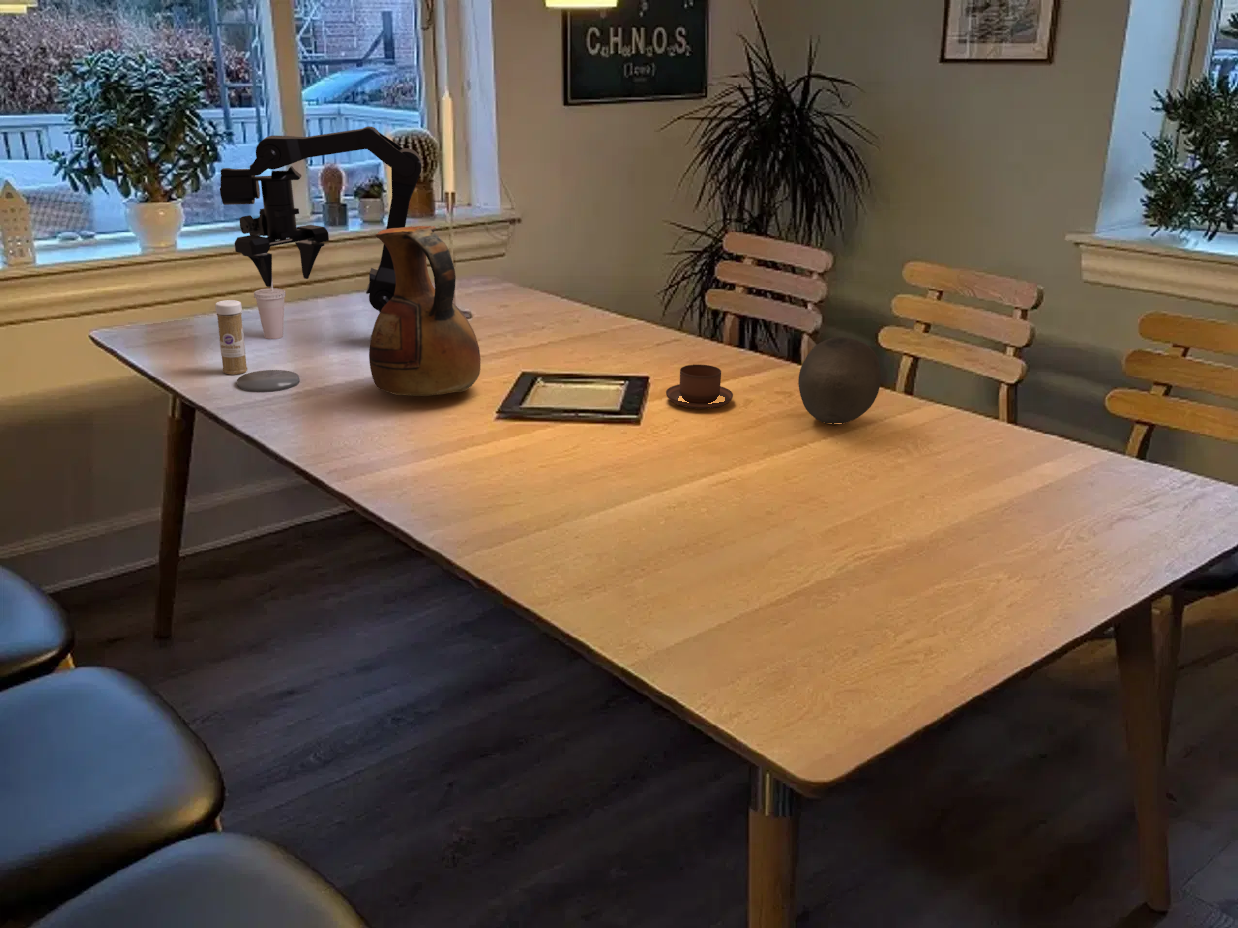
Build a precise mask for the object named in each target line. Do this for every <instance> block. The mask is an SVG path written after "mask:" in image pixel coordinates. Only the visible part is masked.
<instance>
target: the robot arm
mask: <svg viewBox="0 0 1238 928" xmlns="http://www.w3.org/2000/svg"><path fill="white" fill-rule="evenodd" d="M361 150H362V151H363V150H367V151H369V152H370V153H372V154H373V155H374V156H375V157H377V158H378V159H379V160H380V161H382V162H383V163H384V164H386V166H388V167H389V168H391V174H390V176H391V198H390V199H391V200H390V205H389V211H388V216H387V224H386V228H385V230H386V229H391V228H403V227H406V224H407V218H408V212H409V207H410V203H411V198H412V196H413V194H414V191H415V188H416V187H417V183H418V181H419V178H420V175H421V171H422V163H423V162H422V158H421V156H420V155H419V153H418V152H416V150H415V149H412V148H407V147H406V148H403V147H402V146H400V145H399V144H398V143H397V142H395V141H393V140H392V139H390V138H388V137H387V136H385V135H383V134H382V133H381V132H380V131H379V130H378V129H377V128H375V127H374V126H369V125H368V126H365V127H363V128H359V129H358V128H357V129H352V130H351V129H350V130H344V131H338V132H331V133H323V134H318V135H311V136H295V135H269V136H267V137H265V138H263V139H262V140H260V142H258V144H257V145H256V147H255V156H256V158H255V159H254V161H253V163H251V164H250V165H249V168H229V167H226V168H221V169H220V187H219V193H220V198H221V202H222V204H223V205H225V206H227V205H228V206H229V205H230V206H231V205H232V206H233V205H236V206H237V205H255V202H256V200H258V199H260V197H261V196H260V195H261V194H262V202H263V203H262V204H263V208H260V209H259V216H258V217H255V218H253V216H252V215H250V214H249V215H244V216H240V217H239V228H240V231H241V233H242V234H243V236H238V237H237V238H236V239H235V241H234V249H235V253H240V254H241V255H242V256H243V257H248V258H249V259H250V260H251V261H252V263H253V265H255V268H256V269H257V270H258V272H259V275H260V277H261V279H262V281H263V283H264V285H265V287H266V288H270V287H271V283H272V280H273V253H269V251H270V249H271V248H272V247H276V246H281V245H286V244H292V243H295V246H296V247H297V249H298V251H299V254H300V265H301V272H302V277H303V279H305V280H308V279H309V278H310V276H311V273H312V270H313V267H314V264H315V262H316V259H317V257H318V255H319V253H320V251H321V248H323V247H324V246H325V243H324V242H329V241H330V236H329V235H330V233H329V231H328V229H327V228H326V227H325V226H322V225H321V226H320V225H315V224H307V225H301V226H297V219H296V215H299V214H300V209H299V208H297V207H295V202H294V194H293V193H294V192H293V191H294V190H293V184H292V181H299V180H301V178H302V174H301V173H300V172H298V170H296V169H295V167H294V166H290V165H292V164H294V163H297V162H300V161H303V160H305V159H309V158H315V157H322V156H327V155H335V154H342V153H348V152H354V151H361ZM287 166H289V167H288V169H287V170H278V169H280V168H284V167H287ZM267 170H272V171H271V174H270V175H262V174H263V173H265V172H266V171H267ZM259 182H260V183H259ZM260 187H261V190H260ZM246 234H249V235H246ZM382 246H383V247H382V252H381V257H380V258H381V259H380V262H379V266H378V268H377V269H376V268H373V267H371V268H370V270H369V271H370V272H369V276H368V277H369V278H368V279H369V282H368V285H367V287H366V290H365V291H366V292H365V294H366V295H369V296H368V300H369V301H368V302H369V304H370V305H371V306H372V308H373V309H374V310H376V311H378V312H379V313H380V312H381V310H382V308H383V307H384V306H385V304H386V303H387V302H388V301H389V300H390V299H391V298H392V297H393V296H394V293H395V287H396V276H395V271H394V266H393V262H392V258H391V255H390V253H389V251H388V249H387V247H386V246H385V244H384V243H383V245H382Z"/></svg>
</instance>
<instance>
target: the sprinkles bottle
mask: <svg viewBox="0 0 1238 928" xmlns="http://www.w3.org/2000/svg"><path fill="white" fill-rule="evenodd" d="M214 305H215V313H216V316H217V324H218V326H217V327H218V335H219V349H220V356H221V361H222V373H223V374H225V375H232V376H233V375H234V376H235V375H242V374H245V373H246V372H248V367H247V359H246V358H247V357H246V354H247V353H246V345H245V335H244V328H243V319H242V313H243V309H242V308H243V307H242V302H241V301H238V300H234V299H228V300H227V299H226V300H220V301H217V302H215V304H214Z"/></svg>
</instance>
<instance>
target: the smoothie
mask: <svg viewBox="0 0 1238 928" xmlns="http://www.w3.org/2000/svg"><path fill="white" fill-rule="evenodd" d="M273 281H274V279H272V283H271V287H267V288H261V289H257V290H255V291H254V292H253V298H254V299H255V301H256V306H257V308H258V309H257V310H258V314H259V317H260V323H261V327H262V332H263V336H264V338H265V339H267V340H278V339H282V338H283V337H284V318H285V297H286V290H285V289H282V288H277V287H276V288H275V287H274V282H273Z"/></svg>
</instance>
